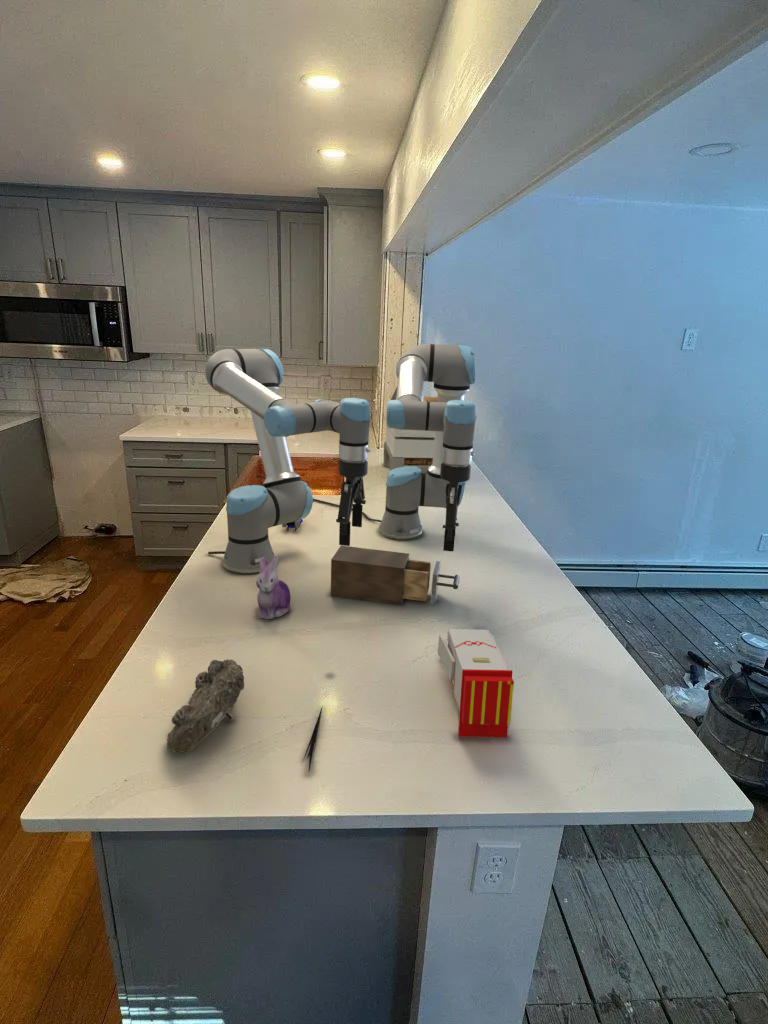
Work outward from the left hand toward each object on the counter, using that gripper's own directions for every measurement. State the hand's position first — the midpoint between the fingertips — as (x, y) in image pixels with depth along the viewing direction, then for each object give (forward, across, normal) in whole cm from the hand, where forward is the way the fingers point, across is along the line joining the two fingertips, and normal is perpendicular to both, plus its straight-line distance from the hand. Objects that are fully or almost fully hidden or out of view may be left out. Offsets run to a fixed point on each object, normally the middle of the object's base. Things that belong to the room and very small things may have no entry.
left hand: (350, 535), depth 154 cm
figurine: (+16, -17, +16) cm, 28 cm away
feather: (+16, -54, -8) cm, 56 cm away
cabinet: (+16, 0, -6) cm, 17 cm away
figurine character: (+17, +41, +31) cm, 54 cm away
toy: (+16, -38, -36) cm, 54 cm away
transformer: (+17, +125, -3) cm, 126 cm away
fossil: (+16, -58, +12) cm, 61 cm away
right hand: (+1, 0, -27) cm, 27 cm away
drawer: (+15, 0, -18) cm, 24 cm away
